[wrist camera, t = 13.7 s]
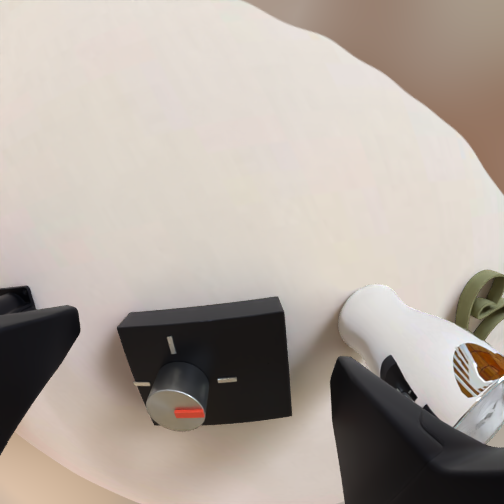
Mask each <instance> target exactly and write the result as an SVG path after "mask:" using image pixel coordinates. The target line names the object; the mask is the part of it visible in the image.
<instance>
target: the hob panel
mask: <svg viewBox="0 0 504 504" xmlns="http://www.w3.org/2000/svg"><path fill="white" fill-rule="evenodd" d="M117 330H118V333H119V336H120V339H121V343H122V346H123V349H124V352H125V354H126V357H127V360H128V363H129V366H130V368H131V371H132V374H133V376H134V379H135V381H134V382H133V383H134V385H135V386H137V387H138V389H139V392H140V394H141V396H142V399H143V401H144V403H145V406H146V402H147V399H148V396H149V394H150V391H151V389H152V387H153V384H154V382H155V379H156V377H157V374H158V372H159V370H160V369H161V368H162V367H163V366H164V365H166V364H168V363H172V362H185V363H189V364H191V365H194V366H196V367H197V368H199V369H200V370H201V371H202V372H203V373H204V374H205V375H206V377H207V379H208V382H209V391H208V399H207V407H206V415H205V420H204V422H203V424H202V425H219V424H233V423H244V422H253V421H262V420H269V419H276V418H283V417H289V416H292V407H291V391H290V377H289V364H288V351H287V338H286V327H285V315H284V310H283V308H282V305H281V303H280V300H279V298H278V297H270V298H263V299H256V300H248V301H240V302H232V303H224V304H215V305H206V306H197V307H187V308H177V309H167V310H156V311H144V312H131V313H129V314H128V316H127V317H126V318H125V319H124V320H123V321H122V322H121V324H120V325H119V326H118V327H117ZM150 417H151V416H150ZM151 419H152V418H151ZM152 421H153V423H154V425H159V424H158V423H157V422H155V421H154V420H153V419H152Z"/></svg>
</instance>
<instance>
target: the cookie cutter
mask: <svg viewBox="0 0 504 504" xmlns="http://www.w3.org/2000/svg"><path fill="white" fill-rule="evenodd" d="M492 278H494V281H493V284H492V287H491V289H490V292H489V294H488V296H487V297H486V298H482V297H478V298H476V297H477V295H478V293H479V291H480V290H481V288H482V287H483V286H484V285H485V284H486V283H487V282H488V281H489V280H491V279H492ZM503 293H504V275H503V274H500V273H498V272H495V271H492V270H483V271H481V272H479V273H477V274H476V275H474V276H473V277H472V278H471V279H470V281H469V282H468V283H467V285H466V286H465V288H464V290H463V292H462V294H461V296H460V299H459V303H458V307H457V312H456V320H455V323H456V324H458V325H460V326H462V327H464V328H466V329H467V330H468V324H469V318H470V315H472V316H473V317H475V318H477V319H479V320H481V319H483V318H485V317H486V316H488V315H489V314H490V315H489V316H488V317H487V318H486V319H485V320H484V321H483V322H482V323H481V324H480V325H479V327H478V328H477V329H476V331H475V332H474V334H476V335H477V336H479V337H480V338H482V339H483V340H484V341H485V339H486V338H487V336H488V335H489V334H490V332H491V331H492V330H493V329H494V328H495V326H496V325H497V324H498V323H499V322H501V321H502V320H503V319H504V298H501V297H502V295H503Z"/></svg>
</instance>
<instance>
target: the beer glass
mask: <svg viewBox="0 0 504 504" xmlns="http://www.w3.org/2000/svg"><path fill="white" fill-rule="evenodd" d="M338 328H339V333H340V336H341V338H342V339H343V341H344V342H345V343H346V344H347V345H348V346H349V347H351V348H352V349H353V350H355V351H356V352H357V353H359V354H360V355H361V357H362V358H363V360H364V361H365V363H366V366H367V368H368V370H370V371H371V372H372V373H374V374H375V375H377V376H378V377H379V378H381V379H382V380H384V381H385V382H386V383H388V384H389V385H391V386H392V387H393V388H395V389H396V390H398V391H399V392H401V393H402V394H403V395H405V396H406V397H408V398H409V399H411V400H412V401H413V402H415V403H416V404H418V405H419V406H421V407H422V409H425V410H426V411H428V412H429V413H431V414H432V415H434V416H435V417H437V418H438V419H440V420H442V421H443V422H445V423H447V424H448V425H450V426H452V427H453V428H455V429H457V430H459V431H461V432H463V433H464V434H466V435H468V436H470V437H472V438H474V439H476V440H478V441H480V442H481V443H483V444H487V443H488V442H489V441H490V440H491V439H492V438H493V436H494V435H495V434H496V433H497V432H498V431H499V429H500V428H501V427H502V425H503V424H504V356H503V355H502V354H500V353H499V352H498V351H497V350H496V349H495V348H493V347H492V346H491V345H490V344H488V343H487V342H486V341H484V340H483V339H482V338H480V337H479V336H477V335H476V334H474V333H472V332H471V331H469V330H467V329H466V328H464V327H462V326H460V325H458V324H456V323H453V322H451V321H449V320H446V319H443V318H440V317H437V316H435V315H432V314H429V313H425V312H422V311H419V310H417V309H414V308H412V307H410V306H408V305H407V304H405V303H404V302H403V301H402V300H401V299H400V298H399V296H398V295H397V294H396V293H395V292H394V290H392V289H391V288H390V287H388V286H386V285H382V284H371V285H367V286H364V287H362V288H360V289H359V290H357V291H356V292H354V293H353V294H352V295H351V296H350V297H349V298H348V300H347V301H346V302H345V304H344V305H343V307H342V309H341V312H340V315H339V320H338Z"/></svg>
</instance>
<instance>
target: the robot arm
mask: <svg viewBox="0 0 504 504" xmlns="http://www.w3.org/2000/svg"><path fill="white" fill-rule="evenodd" d="M79 334H80V322H79V315H78V310H77V309H76V308H75V307H72V306H69V305H65V306H59V307H52V308H46V309H40V310H36V308H35V305H34V301H33V298H32V294H31V291H30V288H29V287H28V286H19V287H10V288H1V289H0V455H1V453H2V451H3V449H4V448H5V446H6V445H7V443H8V442H7V441H9V439H10V437H11V436H12V434H13V433H14V431H15V429H16V428H17V426H18V425H19V423H20V422H21V420H22V419H23V417H24V415H25V414H26V412H27V411H28V409H29V408H30V406H31V405H32V404H33V402H34V401H35V399H36V398H37V396H38V395H39V393H40V392H41V391H42V389H43V388H44V386H45V385H46V384H47V382H48V381H49V379H50V378H51V377H52V375H53V374H54V373H55V371H56V370H57V369H58V367H59V366H60V364H61V363H62V361H63V360H64V358H65V357H66V355H67V353H68V352H69V350H70V348H71V347H72V345H73V343H74V342H75V340H76V339H77V337H78V336H79ZM330 388H331V406H332V422H333V429H334V435H335V441H336V446H337V453H338V459H339V465H340V472H341V478H342V485H343V493H344V500H345V504H504V448H497V447H491V446H488V445H486V444H483V443H481V442H480V441H478V440H476V439H474V438H472V437H470V436H468V435H466V434H464V433H463V432H461V431H459V430H457V429H455V428H453V427H452V426H450V425H448V424H447V423H445V422H443V421H442V420H440V419H438V418H437V417H435V416H434V415H432V414H431V413H429V412H428V411H426V410H425V409H422V407H421V406H419V405H418V404H416V403H415V402H413V401H412V400H411V399H409V398H408V397H406V396H405V395H403V394H402V393H401V392H399V391H398V390H396V389H395V388H393V387H392V386H391V385H389V384H388V383H386V382H385V381H384V380H382V379H381V378H379V377H378V376H377V375H375V374H374V373H372V372H371V371H370V370H368V369H367V368H366V367H364V366H363V365H361V364H360V363H359V362H357V361H356V360H355V359H353V358H352V357H346V356H340V357H338V358H337V360H336V363H335V366H334V369H333V372H332V375H331V380H330Z"/></svg>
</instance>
